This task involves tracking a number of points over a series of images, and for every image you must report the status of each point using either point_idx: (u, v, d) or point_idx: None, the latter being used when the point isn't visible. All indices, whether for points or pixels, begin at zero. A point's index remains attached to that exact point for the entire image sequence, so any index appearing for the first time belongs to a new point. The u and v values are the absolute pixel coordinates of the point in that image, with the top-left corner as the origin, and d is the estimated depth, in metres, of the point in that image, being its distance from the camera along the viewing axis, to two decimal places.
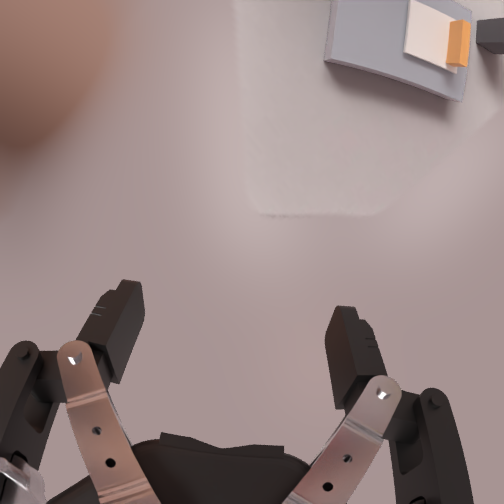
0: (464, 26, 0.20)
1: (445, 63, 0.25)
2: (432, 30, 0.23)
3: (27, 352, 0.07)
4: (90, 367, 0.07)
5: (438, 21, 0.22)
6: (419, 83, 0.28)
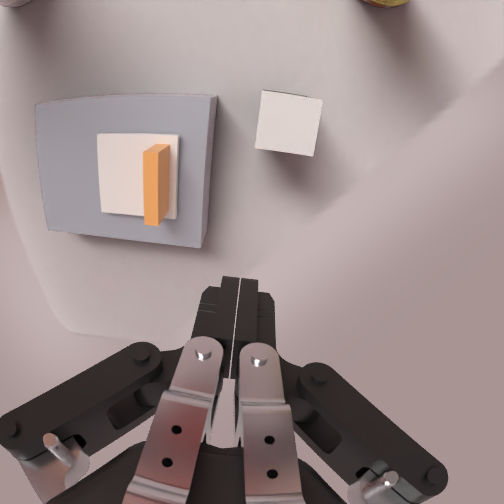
0: (146, 163, 0.21)
1: None
2: (129, 170, 0.24)
3: (146, 358, 0.08)
4: (211, 370, 0.08)
5: (137, 151, 0.23)
6: (134, 238, 0.29)
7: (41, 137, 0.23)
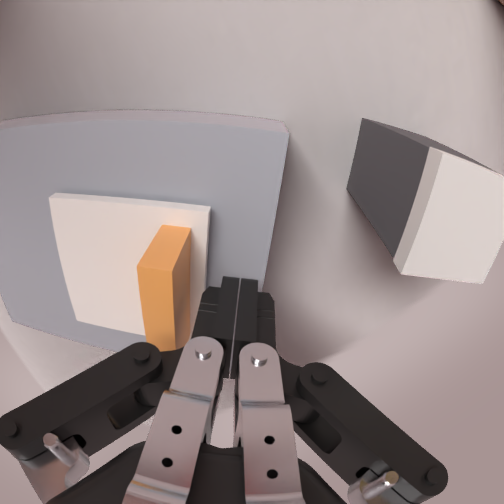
0: (145, 288, 0.10)
1: None
2: (114, 268, 0.13)
3: (146, 358, 0.08)
4: (212, 370, 0.08)
5: (125, 236, 0.12)
6: None
7: None
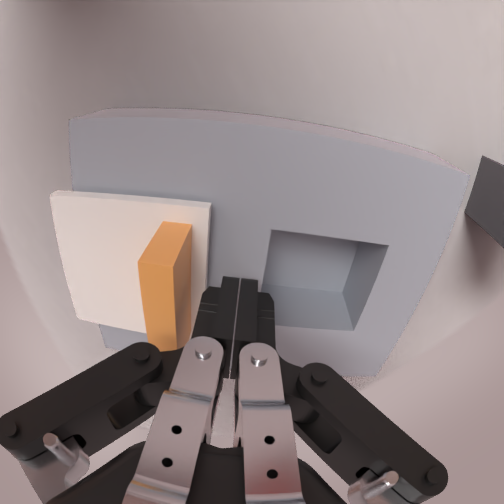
0: (146, 284, 0.10)
1: None
2: (115, 265, 0.13)
3: (146, 358, 0.08)
4: (211, 370, 0.08)
5: (126, 233, 0.12)
6: None
7: None
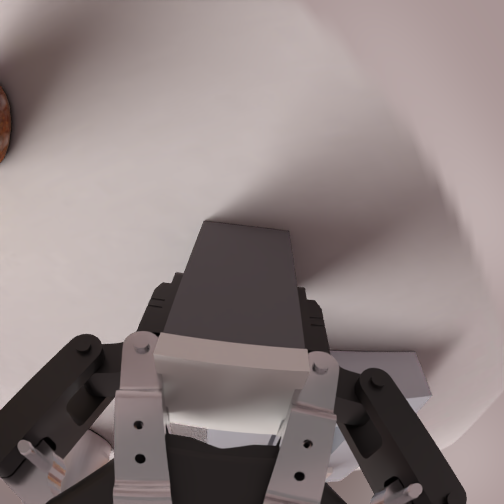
0: None
1: None
2: None
3: (88, 347, 0.08)
4: (154, 361, 0.08)
5: None
6: None
7: None
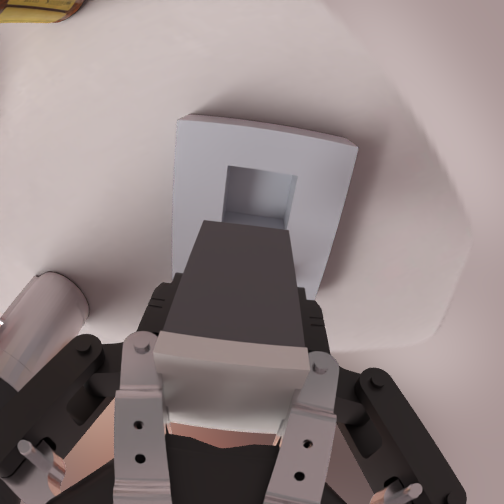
0: None
1: None
2: None
3: (89, 347, 0.08)
4: (154, 361, 0.08)
5: None
6: (336, 224, 0.25)
7: None
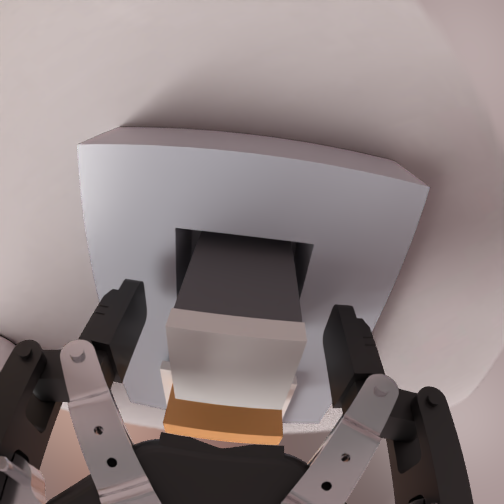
0: (181, 433, 0.14)
1: None
2: None
3: (30, 351, 0.07)
4: (93, 366, 0.08)
5: None
6: (375, 317, 0.14)
7: None
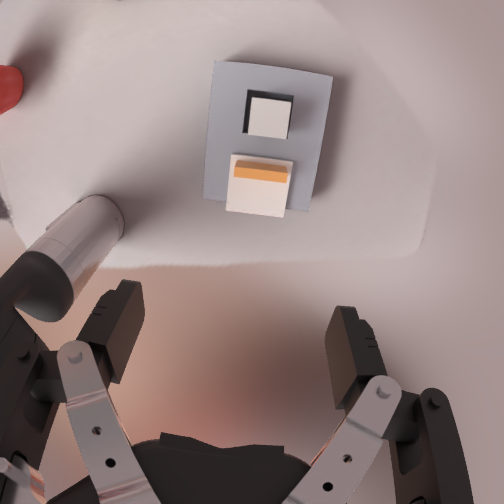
0: (241, 175, 0.34)
1: None
2: (253, 190, 0.38)
3: (27, 352, 0.07)
4: (90, 367, 0.07)
5: (240, 182, 0.38)
6: (323, 129, 0.34)
7: None
